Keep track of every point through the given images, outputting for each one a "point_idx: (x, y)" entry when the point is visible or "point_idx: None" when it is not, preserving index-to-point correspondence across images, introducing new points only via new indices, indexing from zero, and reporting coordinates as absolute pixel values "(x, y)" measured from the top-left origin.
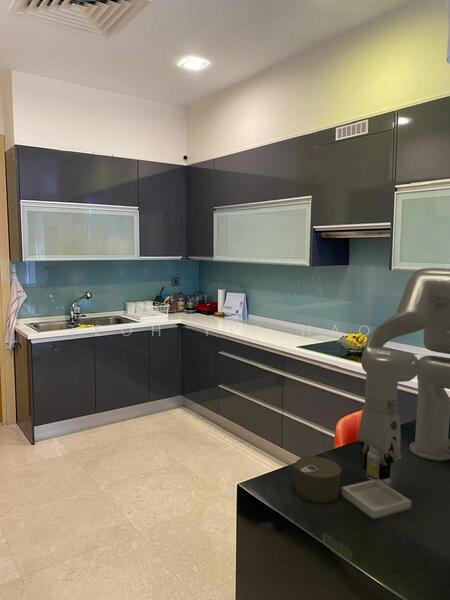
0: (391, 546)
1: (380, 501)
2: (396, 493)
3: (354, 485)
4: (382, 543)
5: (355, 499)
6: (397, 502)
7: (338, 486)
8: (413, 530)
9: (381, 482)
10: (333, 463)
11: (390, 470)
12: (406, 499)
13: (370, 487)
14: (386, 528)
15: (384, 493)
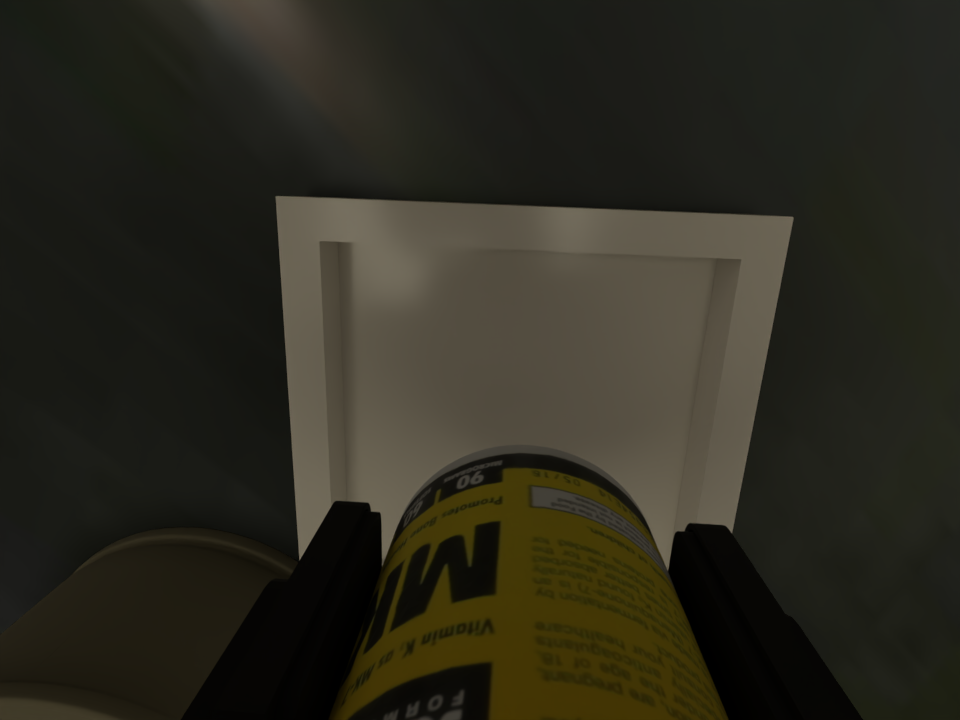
0: (947, 696)
1: (560, 404)
2: (608, 243)
3: (315, 503)
4: (892, 717)
5: None
6: (731, 374)
7: None
8: (949, 449)
9: (361, 210)
10: (28, 715)
11: (774, 600)
12: (745, 242)
13: (338, 310)
14: (808, 591)
15: (474, 266)
